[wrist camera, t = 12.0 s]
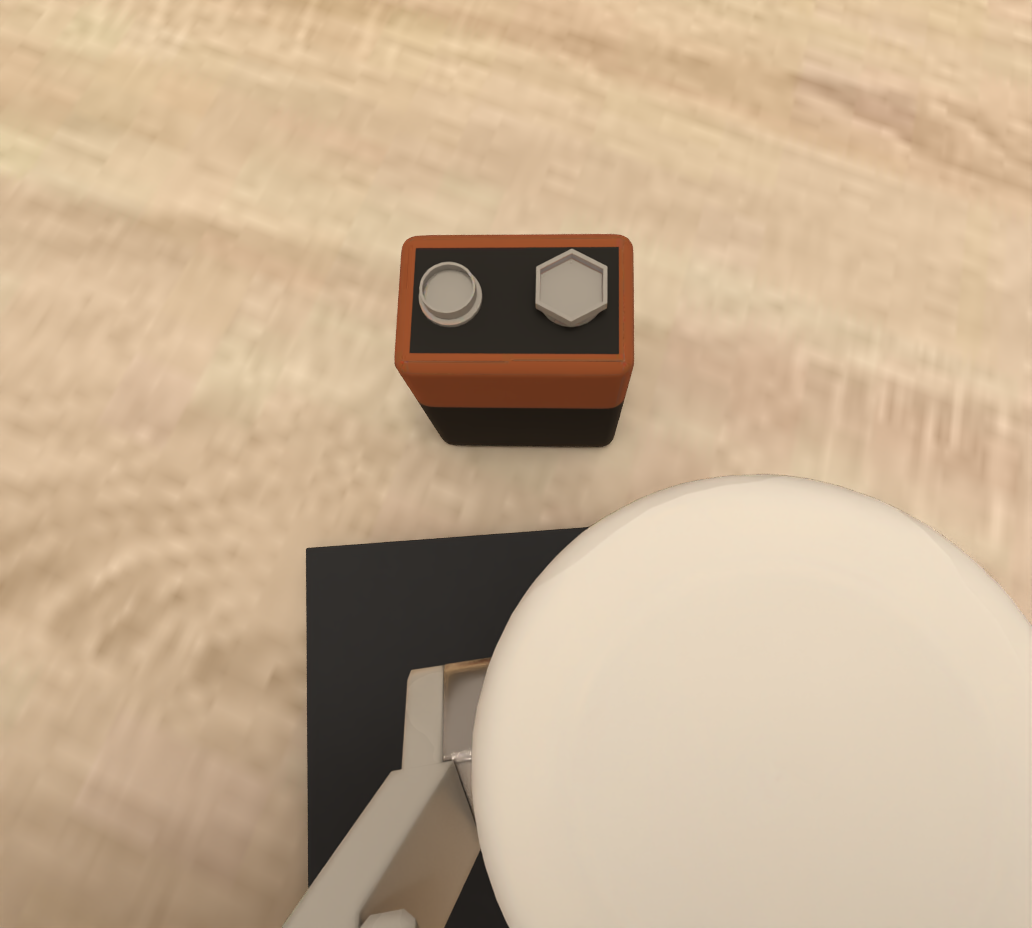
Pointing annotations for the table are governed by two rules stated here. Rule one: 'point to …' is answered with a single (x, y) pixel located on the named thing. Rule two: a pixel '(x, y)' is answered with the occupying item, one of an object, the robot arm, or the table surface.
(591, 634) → the sprinkles bottle
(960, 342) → the table surface
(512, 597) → the desk pad
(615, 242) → the battery
